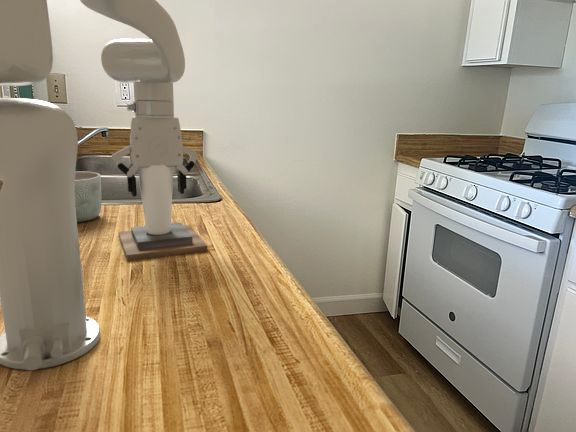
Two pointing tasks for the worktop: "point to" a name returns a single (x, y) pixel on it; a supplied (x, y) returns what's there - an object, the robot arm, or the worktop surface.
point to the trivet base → (160, 250)
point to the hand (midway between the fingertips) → (157, 193)
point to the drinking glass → (157, 198)
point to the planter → (87, 195)
